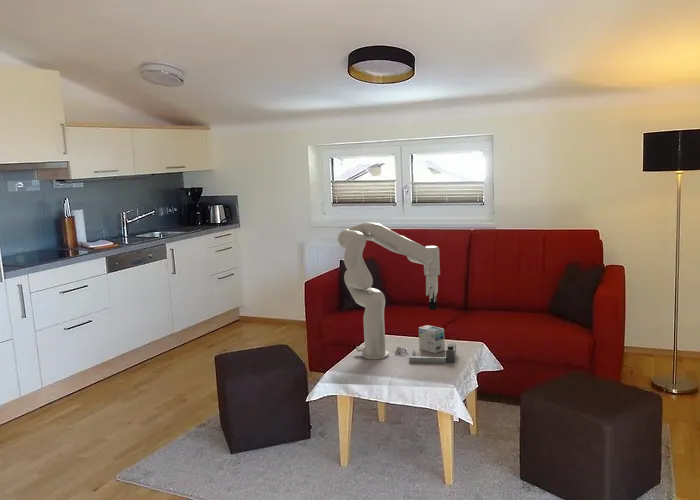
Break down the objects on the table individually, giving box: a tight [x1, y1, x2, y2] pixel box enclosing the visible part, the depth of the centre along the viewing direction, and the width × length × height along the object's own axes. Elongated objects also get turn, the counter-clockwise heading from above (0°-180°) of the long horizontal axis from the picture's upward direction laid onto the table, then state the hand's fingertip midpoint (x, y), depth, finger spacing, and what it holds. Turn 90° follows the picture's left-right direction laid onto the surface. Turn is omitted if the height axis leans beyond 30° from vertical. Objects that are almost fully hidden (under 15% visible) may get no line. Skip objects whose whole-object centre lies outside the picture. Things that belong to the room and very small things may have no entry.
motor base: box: [408, 342, 457, 365], centre depth 280 cm, size 20×16×7 cm
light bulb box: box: [418, 324, 446, 354], centre depth 292 cm, size 11×7×11 cm, turn 40°
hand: (433, 308), depth 301 cm, fingers open, 2 cm apart
